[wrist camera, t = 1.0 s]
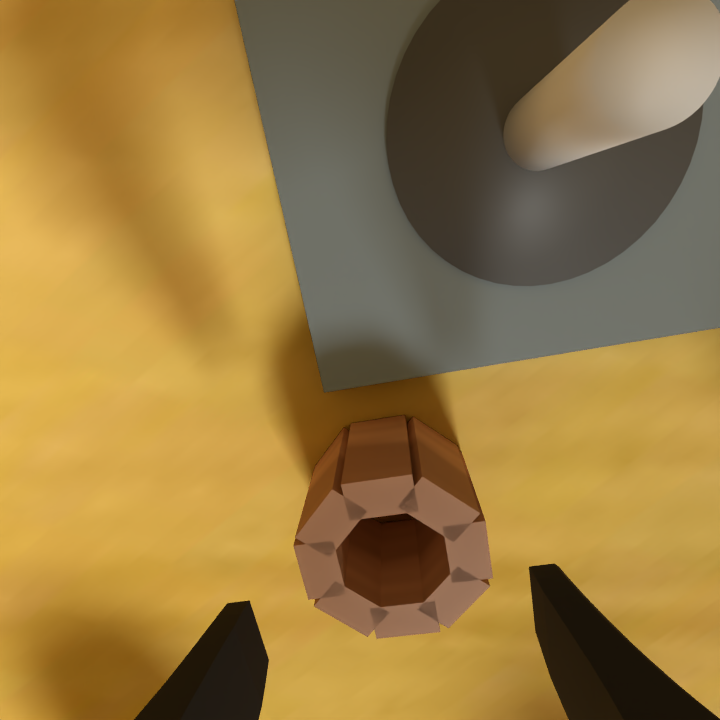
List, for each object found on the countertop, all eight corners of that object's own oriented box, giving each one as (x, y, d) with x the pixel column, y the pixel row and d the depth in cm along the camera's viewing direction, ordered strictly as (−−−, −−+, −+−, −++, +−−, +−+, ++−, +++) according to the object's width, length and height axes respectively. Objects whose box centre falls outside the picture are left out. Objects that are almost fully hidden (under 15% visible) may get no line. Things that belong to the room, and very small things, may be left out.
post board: (821, -220, 11) (1456, -864, 4) (781, 307, 14) (1096, 372, 8) (228, -58, 12) (64, -359, 6) (327, 382, 16) (291, 487, 9)
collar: (455, 407, 16) (478, 465, 12) (473, 537, 17) (499, 625, 14) (303, 430, 16) (279, 493, 13) (334, 555, 18) (321, 644, 14)
